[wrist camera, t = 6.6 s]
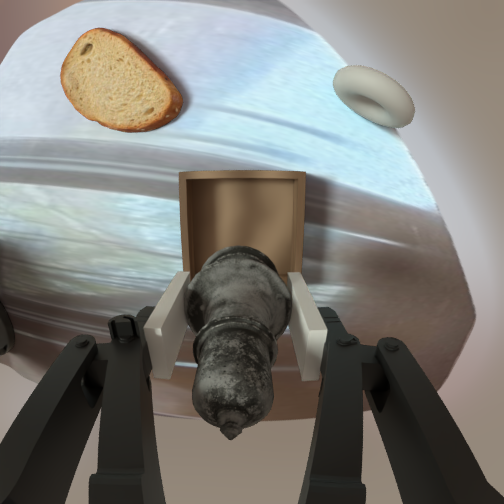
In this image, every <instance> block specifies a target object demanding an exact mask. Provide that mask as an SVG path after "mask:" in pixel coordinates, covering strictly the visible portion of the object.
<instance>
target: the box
mask: <svg viewBox="0 0 504 504" xmlns="http://www.w3.org/2000/svg"><path fill="white" fill-rule="evenodd" d="M305 181H306V172H301V171H268V170H223V171H189V172H179V201H180V225H181V243H182V259H183V272H190V282H191V281H192V279H193V278H194V277H195V275H196V274H197V273H198V272H200V271H201V269H202V266H203V265H204V264H205V262H206V261H207V259H208V258H209V257H210V256H212V255H213V254H214V253H215V252H217V251H219V250H221V249H223V248H226V247H230V246H237V245H239V246H249V247H251V248H254V249H257V250H259V251H261V252H262V253H264V254H265V255H266V256H268V257H269V258H270V260H271V261H272V262H273V263H274V265H275V267H276V269H277V271H278V274H279V276H280V277H281V279H282V280H283V281H284V282H285V284H286V286H287V275H288V272H300V273H301V272H302V255H303V236H304V214H305Z"/></svg>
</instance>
